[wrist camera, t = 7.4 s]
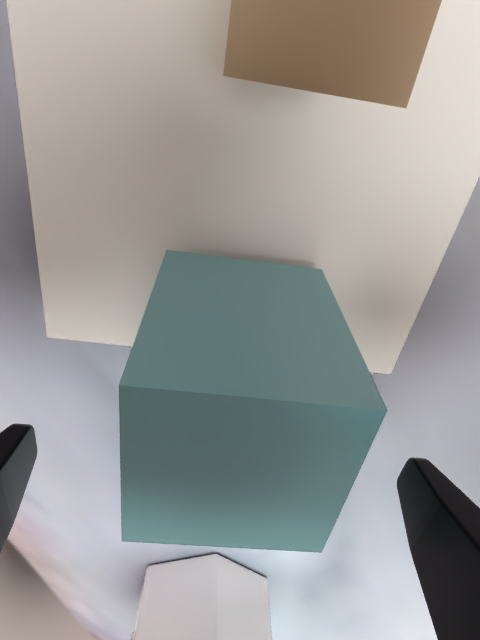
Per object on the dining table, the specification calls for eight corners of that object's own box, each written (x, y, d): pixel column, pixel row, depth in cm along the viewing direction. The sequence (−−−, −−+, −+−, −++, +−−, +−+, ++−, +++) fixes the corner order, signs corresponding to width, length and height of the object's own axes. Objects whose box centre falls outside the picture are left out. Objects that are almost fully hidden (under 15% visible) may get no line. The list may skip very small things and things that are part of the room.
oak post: (343, -30, 10) (494, -163, 4) (317, 89, 11) (406, 107, 6) (240, -52, 10) (255, -224, 4) (226, 72, 11) (222, 75, 5)
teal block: (321, 269, 14) (387, 409, 8) (289, 386, 16) (321, 552, 11) (166, 249, 13) (118, 385, 7) (159, 373, 16) (121, 541, 10)
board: (559, -19, 10) (568, -21, 10) (388, 369, 17) (390, 374, 17) (-5, -142, 9) (-12, -149, 9) (50, 333, 16) (47, 337, 16)
